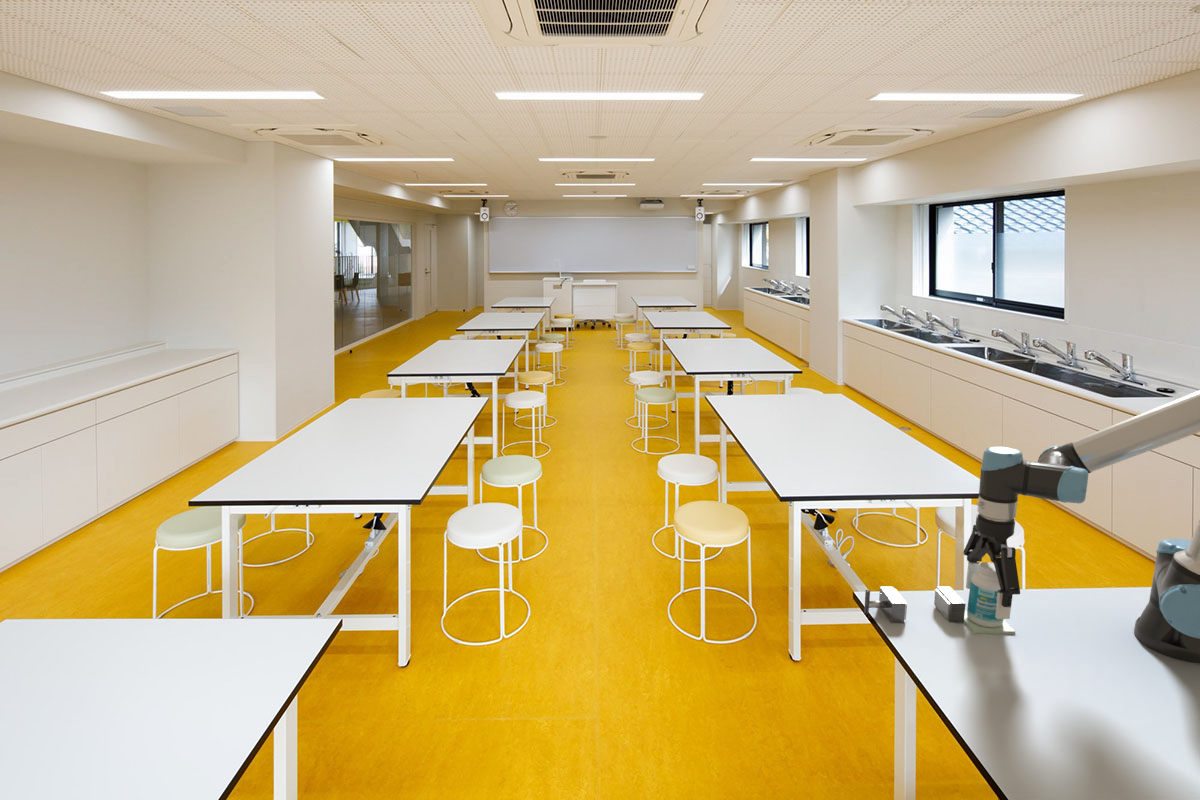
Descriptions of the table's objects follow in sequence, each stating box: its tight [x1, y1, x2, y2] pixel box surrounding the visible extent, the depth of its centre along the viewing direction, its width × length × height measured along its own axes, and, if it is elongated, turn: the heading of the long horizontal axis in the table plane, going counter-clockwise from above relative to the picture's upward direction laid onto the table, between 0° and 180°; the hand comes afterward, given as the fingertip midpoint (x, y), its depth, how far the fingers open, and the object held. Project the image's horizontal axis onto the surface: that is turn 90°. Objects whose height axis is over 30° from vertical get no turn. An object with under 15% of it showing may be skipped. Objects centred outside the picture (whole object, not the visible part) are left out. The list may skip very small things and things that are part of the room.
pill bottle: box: [966, 561, 1005, 627], centre depth 156 cm, size 8×7×14 cm
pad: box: [963, 610, 1016, 635], centre depth 158 cm, size 9×9×1 cm
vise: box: [863, 586, 966, 624], centre depth 162 cm, size 21×8×7 cm, turn 87°
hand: (986, 602), depth 157 cm, fingers open, 13 cm apart
